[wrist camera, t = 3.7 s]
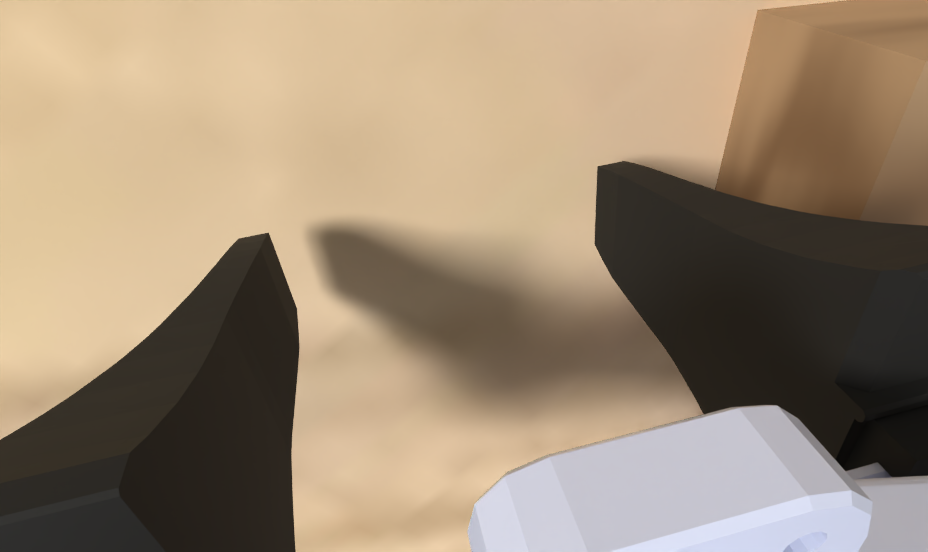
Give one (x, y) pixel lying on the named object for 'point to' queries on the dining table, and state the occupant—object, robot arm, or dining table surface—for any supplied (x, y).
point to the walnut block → (834, 112)
